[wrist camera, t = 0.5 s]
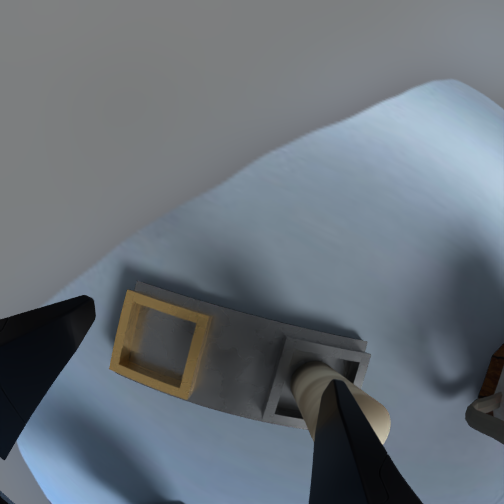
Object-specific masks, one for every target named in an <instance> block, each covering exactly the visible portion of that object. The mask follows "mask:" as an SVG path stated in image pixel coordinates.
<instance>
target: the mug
mask: <svg viewBox="0 0 504 504" xmlns="http://www.w3.org/2000/svg"><path fill="white" fill-rule="evenodd" d="M478 398H479V399H477V400H475V401H474V402H473V403H472V404H470V405H469V406H468V407H467V410H466V413H465V419H466V421H467V423H468V424H469V426H470V427H472V428H473V429H475V430H477V431H479V432H481V433H483V434H485V435H487V436H490V437H492V438H494V439H495V440H497V441H499V442H500V443H502V444H504V344H503V345H502V346H501V347H500V348H499V349H498V350H497V351H496V352H495V353H494V354H493V355H492V358H491V361H490V364H489V368H488V371H487V374H486V377H485V380H484V382H483V385H482V388H481V391H480V393H479V396H478Z"/></svg>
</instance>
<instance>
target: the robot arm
mask: <svg viewBox="0 0 504 504" xmlns="http://www.w3.org/2000/svg"><path fill="white" fill-rule="evenodd" d="M95 317H96V313H95V304H94V300H93V299H92V298H91V297H89V296H87V295H82V296H78V297H75V298H71V299H68V300H65V301H61V302H58V303H54V304H51V305H48V306H44V307H41V308H37V309H34V310H31V311H27V312H24V313H21V314H17V315H14V316H11V317H9V318H8V317H7V318H4V319H0V457H1V458H2V459H3V460H5V459H6V458H7V456H8V454H9V452H10V451H11V449H12V447H13V445H14V444H15V442H16V440H17V439H18V437H19V435H20V434H21V432H22V430H23V429H24V427H25V425H26V423H27V422H28V420H29V419H30V417H31V416H32V414H33V412H34V411H35V409H36V408H37V406H38V405H39V403H40V402H41V400H42V399H43V397H44V396H45V394H46V393H47V391H48V390H49V388H50V387H51V385H52V384H53V382H54V381H55V380H56V378H57V377H58V375H59V374H60V372H61V371H62V370H63V368H64V367H65V365H66V364H67V363H68V361H69V360H70V359H71V357H72V356H73V354H74V353H75V352H76V350H77V349H78V347H79V346H80V344H81V342H82V340H83V339H84V337H85V335H86V334H87V332H88V330H89V329H90V327H91V325H92V324H93V322H94V320H95ZM0 504H15V503H13V502H12V501H11V500H10V499H9V498H8V497H7V496H6V495H4V494H3V493H2V492H1V491H0ZM309 504H423V503H422V502H421V500H420V499H419V498H418V497H417V495H416V494H415V493H414V491H413V490H412V489H411V487H410V486H409V485H408V483H407V482H406V481H405V479H404V478H403V477H402V475H401V474H400V472H399V471H398V469H397V468H396V466H395V464H394V463H393V461H392V460H391V458H390V456H389V455H387V451H386V450H385V448H384V446H383V445H382V443H381V441H380V440H379V438H378V436H377V435H376V433H375V431H374V430H373V428H372V426H371V425H370V423H369V421H368V420H367V418H366V416H365V415H364V413H363V411H362V410H361V408H360V406H359V405H358V403H357V401H356V400H355V398H354V397H353V395H352V393H351V392H350V390H349V388H348V387H347V385H346V383H345V382H344V381H343V380H338V379H332V380H331V381H330V383H329V384H328V386H327V387H326V389H325V390H324V392H323V394H322V396H321V401H320V408H319V413H318V419H317V425H316V430H315V438H314V453H313V466H312V477H311V487H310V497H309Z"/></svg>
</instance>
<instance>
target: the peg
mask: <svg viewBox="0 0 504 504" xmlns="http://www.w3.org/2000/svg"><path fill="white" fill-rule="evenodd" d="M332 379H338V380H343V381H344V382H345V383H346V385H347V387H348V388H349V390H350V392H351V393H352V395H353V397H354V398H355V400H356V401H357V403H358V405H359V406H360V408H361V410H362V411H363V413H364V415H365V416H366V418H367V420H368V421H369V423H370V425H371V426H372V428H373V430H374V431H375V433H376V435H377V436H378V438H379V440H380V441H381V443H382V445H383V444H384V442H385V441H386V439H387V437H388V434H389V431H390V416H389V413H388V411H387V410H386V408H385V407H384V406H383V405H382V404H380V403H379V402H378V401H376V400H375V399H373V398H372V397H371V396H369V395H368V394H366V393H365V392H364V391H362V390H361V389H360V388H358V387H357V386H355V385H354V384H353V383H351V382H350V381H349V380H347V379H346V378H345V377H343V376H342V375H341V374H339V373H338V372H337V371H335V370H334V369H333V368H331V367H330V366H329V365H327V364H325V363H323V362H319V361H312V362H308V363H305V364H303V365H301V366H300V367H299V368H298V369H297V370H296V371H295V372H294V374H293V375H292V378H291V382H290V388H291V392H292V394H293V396H294V399H295V401H296V403H297V406H298V408H299V410H300V412H301V414H302V417H303V419H304V421H305V423H306V426H307V428H308V430H309V432H310V435H311V437H312V439H313V441H314V438H315V430H316V425H317V419H318V413H319V408H320V401H321V396H322V394H323V392H324V390H325V389H326V387H327V386H328V384H329V383H330V381H331V380H332Z"/></svg>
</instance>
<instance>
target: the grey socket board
mask: <svg viewBox="0 0 504 504" xmlns="http://www.w3.org/2000/svg"><path fill="white" fill-rule="evenodd" d="M366 346H367V341H363V340H358V339H353V338H348V337H343V336H339V335H334V334H329V333H325V332H320V331H316V330H311V329H307V328H303V327H298V326H294V325H290V324H286V323H282V322H278V321H274V320H270V319H266V318H262V317H258V316H254V315H251V314H247V313H243V312H240V311H236V310H232V309H229V308H225V307H222V306H218V305H215V304H211V303H208V302H204V301H201V300H197V299H194V298H191V297H188V296H184V295H181V294H178V293H175V292H171V291H168V290H165V289H162V288H159V287H156V286H153V285H150V284H147V283H144V282H140V281H137V283H136V286H135V290H134V291H133V290H127V293H126V296H125V300H124V304H123V308H122V312H121V316H120V320H119V325H118V329H117V333H116V338H115V342H114V347H113V352H112V357H111V362H110V368H109V369H110V370H112V371H115V373H117V374H119V375H121V376H124V377H126V378H128V379H130V380H133V381H135V382H138V383H140V384H142V385H145V386H147V387H150V388H152V389H155V390H158V391H160V392H163V393H166V394H168V395H171V396H174V397H177V398H180V399H183V400H186V401H189V402H192V403H195V404H198V405H201V406H204V407H208V408H211V409H214V410H218V411H222V412H225V413H229V414H233V415H237V416H241V417H245V418H249V419H253V420H258V421H262V422H267V423H272V424H277V425H282V426H288V427H294V428H300V429H306V430H308V428H307V426H306V423H305V421H304V419H303V417H302V414H301V412H300V410H299V408H298V406H297V403H296V401H295V399H294V396H293V394H292V392H291V388H290V382H291V378H292V375H293V374H294V372H295V371H296V370H297V369H298V368H299V367H300V366H301V365H303V364H305V363H308V362H312V361H319V362H323V363H325V364H327V365H329V366H330V367H331V368H333V369H334V370H335V371H337V372H338V373H339V374H341V375H342V376H343V377H345V378H346V379H347V380H349V381H350V382H351V383H353V384H354V385H355V386H357V387H358V388H360V389H361V387H362V384H363V380H364V377H365V374H366V371H367V367H368V364H369V360H370V357H371V354H369V353H366V352H365V350H366Z"/></svg>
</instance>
